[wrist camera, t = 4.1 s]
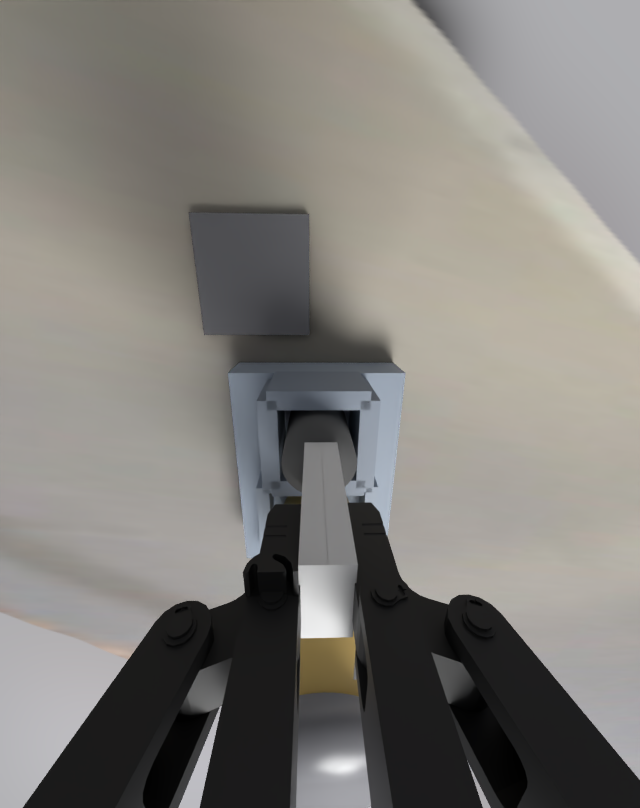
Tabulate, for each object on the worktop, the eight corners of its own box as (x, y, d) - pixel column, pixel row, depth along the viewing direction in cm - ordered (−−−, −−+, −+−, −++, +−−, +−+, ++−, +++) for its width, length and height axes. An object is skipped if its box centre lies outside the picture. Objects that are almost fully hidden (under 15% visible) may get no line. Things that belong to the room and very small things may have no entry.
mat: (192, 214, 18) (188, 212, 17) (308, 216, 18) (308, 214, 17) (207, 333, 20) (204, 334, 20) (309, 334, 20) (309, 335, 20)
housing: (239, 361, 21) (206, 391, 14) (393, 361, 21) (429, 391, 15) (253, 529, 26) (234, 608, 20) (377, 528, 27) (399, 604, 20)
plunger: (288, 394, 18) (279, 430, 13) (346, 394, 18) (359, 429, 14) (289, 447, 19) (282, 496, 15) (344, 447, 19) (355, 495, 15)
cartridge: (278, 480, 21) (233, 737, 9) (354, 479, 21) (413, 731, 9) (281, 539, 23) (247, 819, 11) (351, 538, 23) (396, 813, 11)
